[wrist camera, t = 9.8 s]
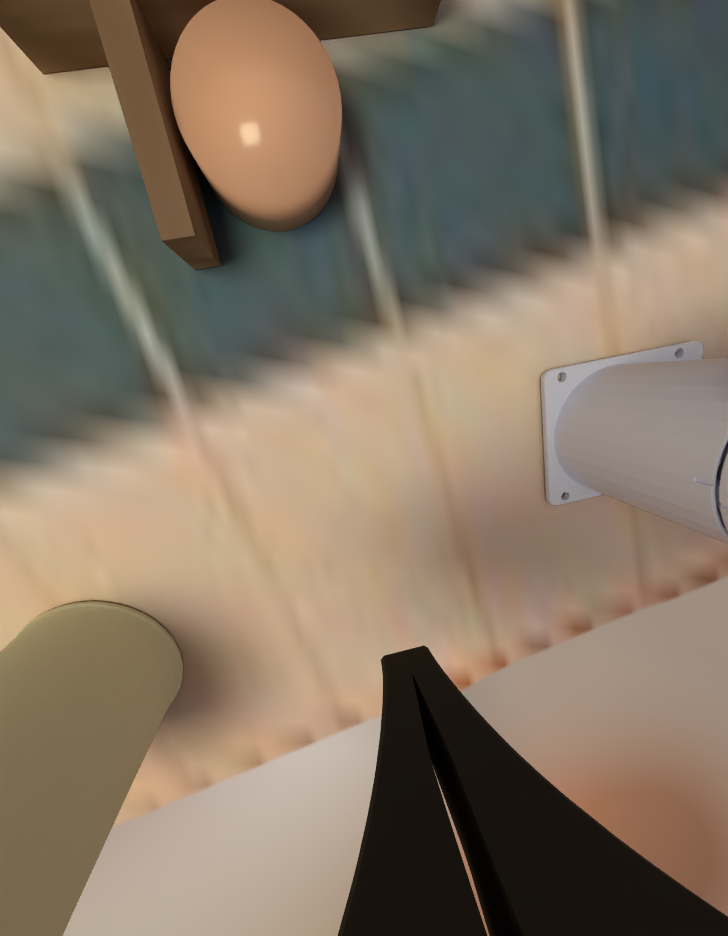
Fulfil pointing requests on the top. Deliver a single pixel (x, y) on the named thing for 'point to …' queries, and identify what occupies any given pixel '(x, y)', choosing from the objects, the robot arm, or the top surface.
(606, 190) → the top surface
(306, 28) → the tan rounded pebble
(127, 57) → the mortise joint
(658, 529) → the top surface
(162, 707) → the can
